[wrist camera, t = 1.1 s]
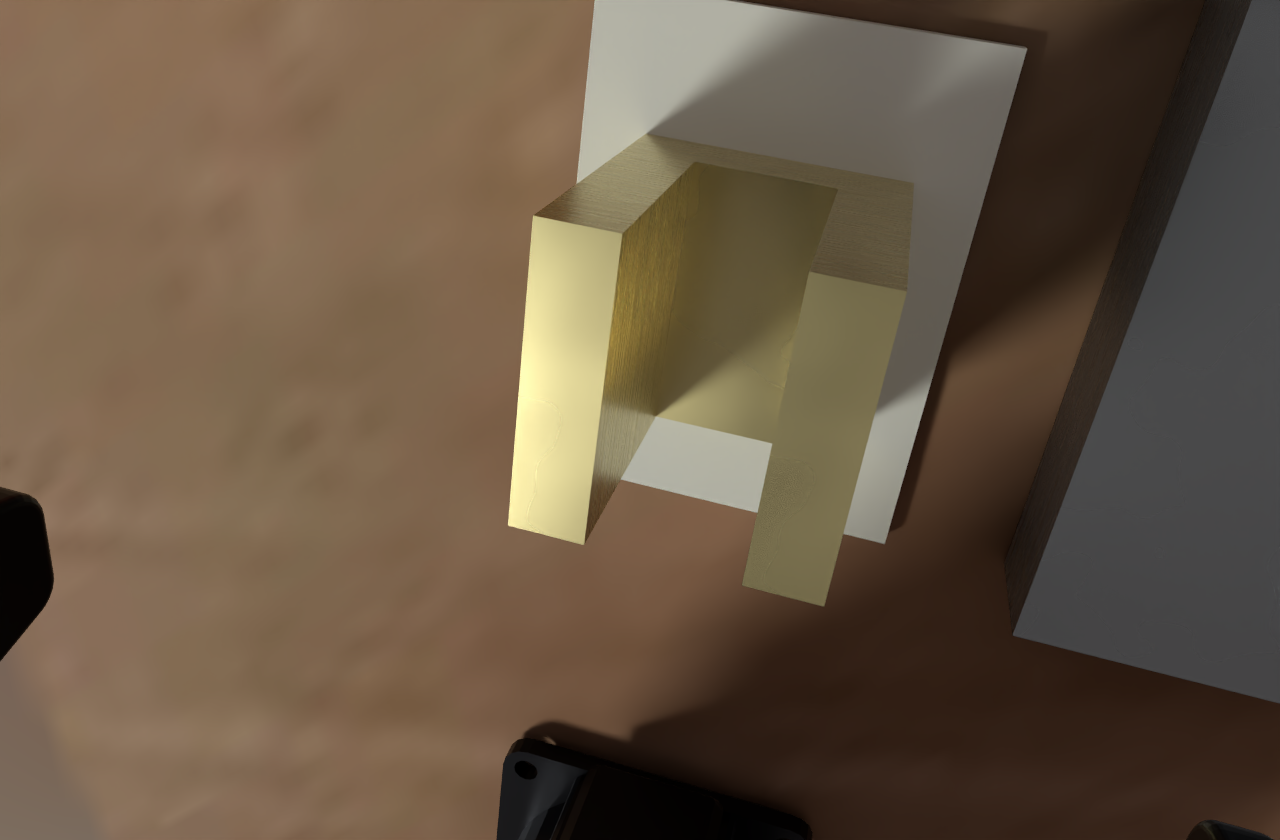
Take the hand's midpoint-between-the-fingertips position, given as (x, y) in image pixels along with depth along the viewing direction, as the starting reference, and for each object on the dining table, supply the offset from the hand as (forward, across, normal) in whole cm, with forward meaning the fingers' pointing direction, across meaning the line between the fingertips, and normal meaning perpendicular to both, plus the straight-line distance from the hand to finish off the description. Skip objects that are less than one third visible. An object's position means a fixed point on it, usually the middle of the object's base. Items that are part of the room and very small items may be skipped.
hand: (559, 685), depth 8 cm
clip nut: (+10, 0, 0) cm, 10 cm away
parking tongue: (+10, 0, 0) cm, 10 cm away
